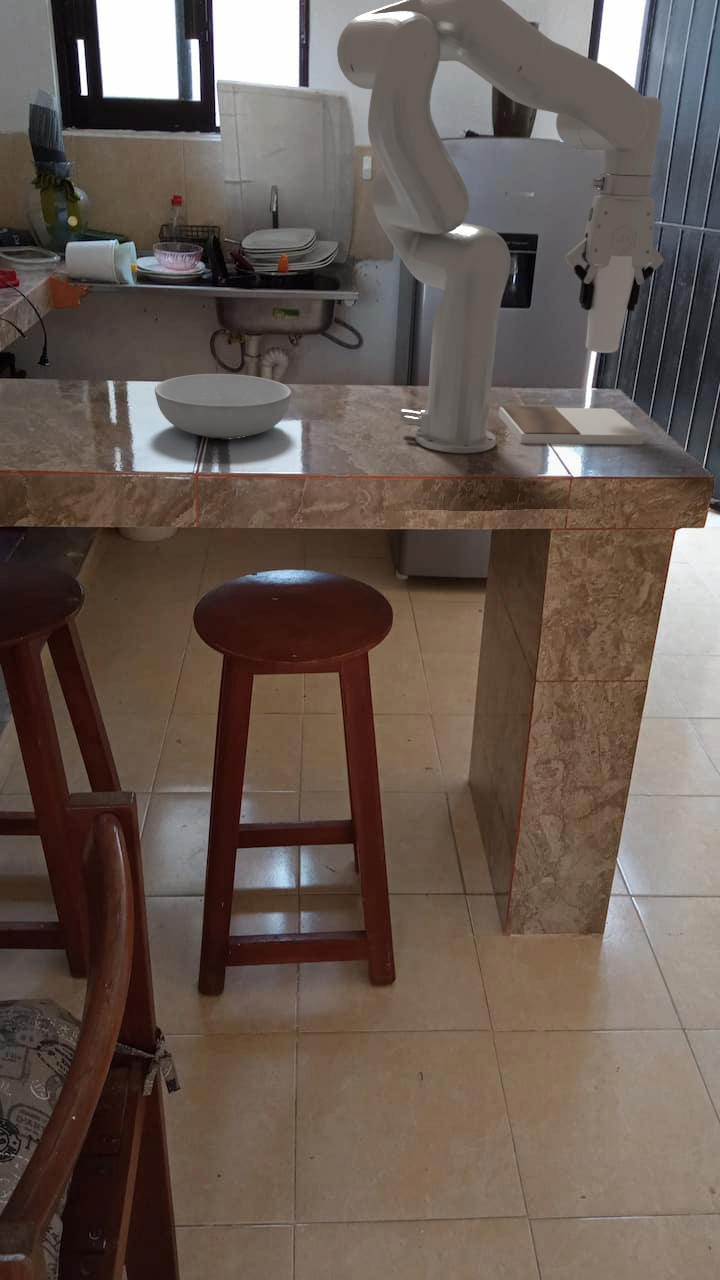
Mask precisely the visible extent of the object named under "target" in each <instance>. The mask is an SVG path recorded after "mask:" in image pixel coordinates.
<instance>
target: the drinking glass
mask: <svg viewBox="0 0 720 1280" xmlns="http://www.w3.org/2000/svg"><path fill="white" fill-rule="evenodd" d="M634 275H635V268H633V267H632V256H615V255H612V256H611V257H610V261H609V265H608V266H606V267H597V272H596V274H595V276H594V277H593V279H592V284H593V285H594V290H593V297H592V305H591V309H590V310H587V311H588V312H587V314H588V315H587V326H586V329H587V330H586V338H585V348H586V349H587V350H588V351H591V352H593V353H594V352H595V353H602V354H610V353H615V352H617V351H618V349H619V347H620V342H621V341H620V340H621V335H622V332H623V327H624V323H625V318H626V314H627V311H628V310H627V306H628V302H629V298H630V294H631V290H632V286H633V281H634Z"/></svg>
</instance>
